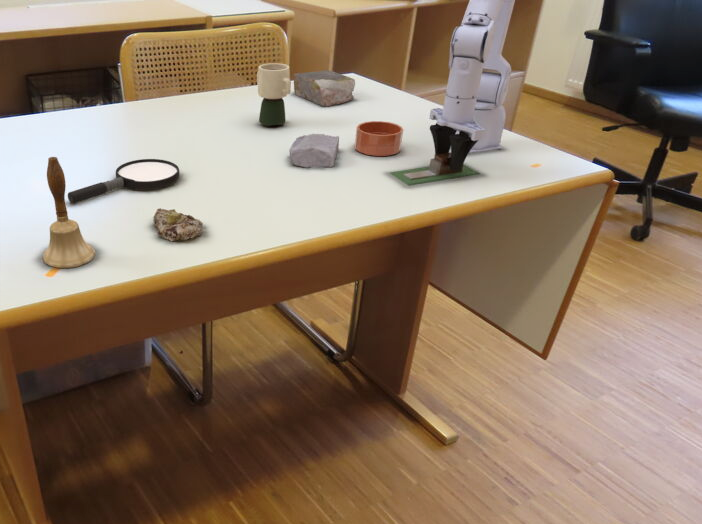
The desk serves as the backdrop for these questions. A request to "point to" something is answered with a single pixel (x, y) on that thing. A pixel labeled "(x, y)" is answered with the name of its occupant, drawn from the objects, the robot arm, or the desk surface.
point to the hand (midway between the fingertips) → (447, 165)
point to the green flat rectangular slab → (400, 175)
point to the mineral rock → (176, 225)
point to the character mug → (273, 92)
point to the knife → (435, 167)
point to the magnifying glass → (132, 178)
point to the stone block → (314, 150)
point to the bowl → (378, 138)
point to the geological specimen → (324, 87)
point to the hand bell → (64, 227)
